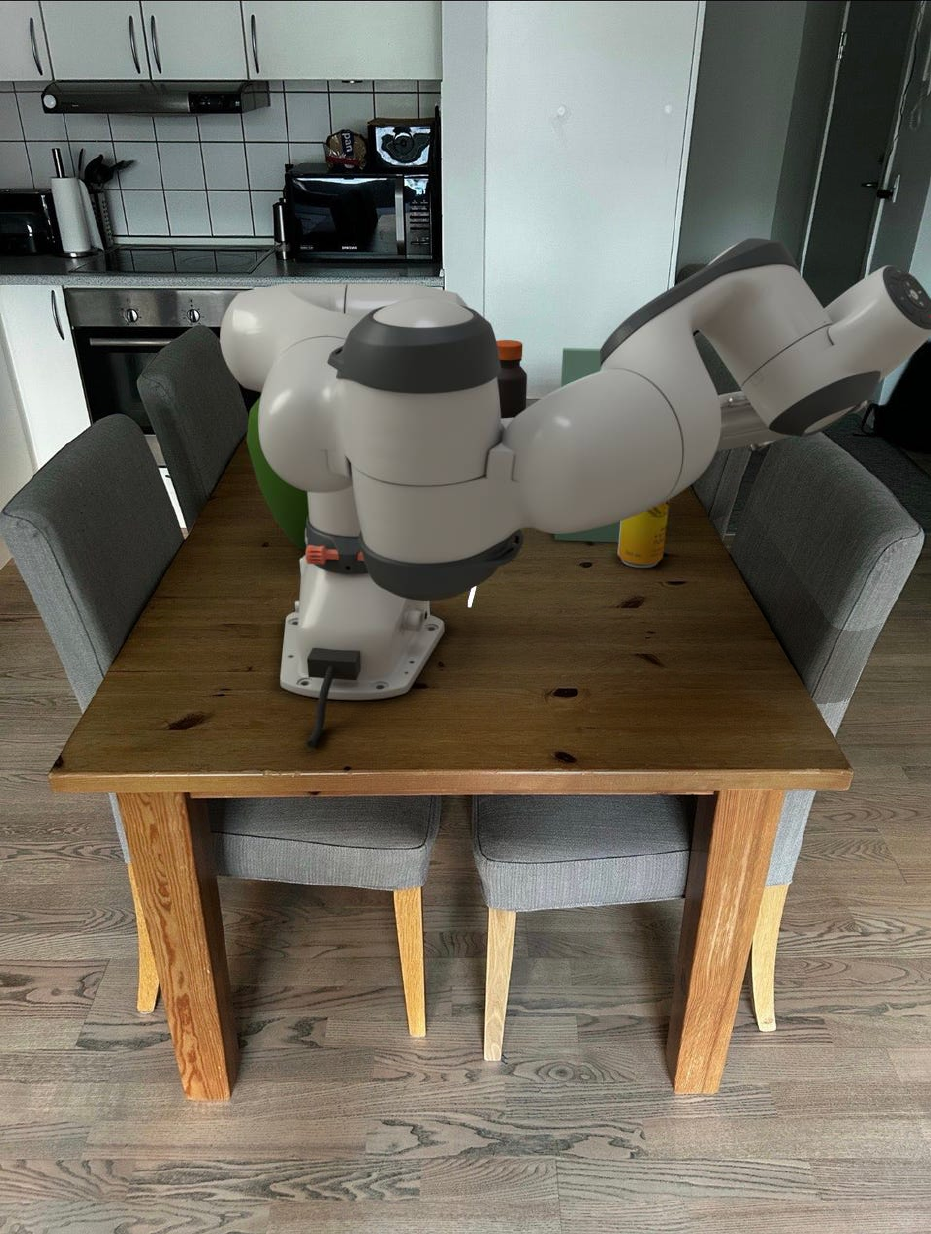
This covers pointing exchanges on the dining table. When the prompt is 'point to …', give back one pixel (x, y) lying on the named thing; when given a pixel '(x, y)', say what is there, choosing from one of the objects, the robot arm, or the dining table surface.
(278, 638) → the dining table surface
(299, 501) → the vase
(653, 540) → the beer can
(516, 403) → the bottle
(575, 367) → the shelf unit
